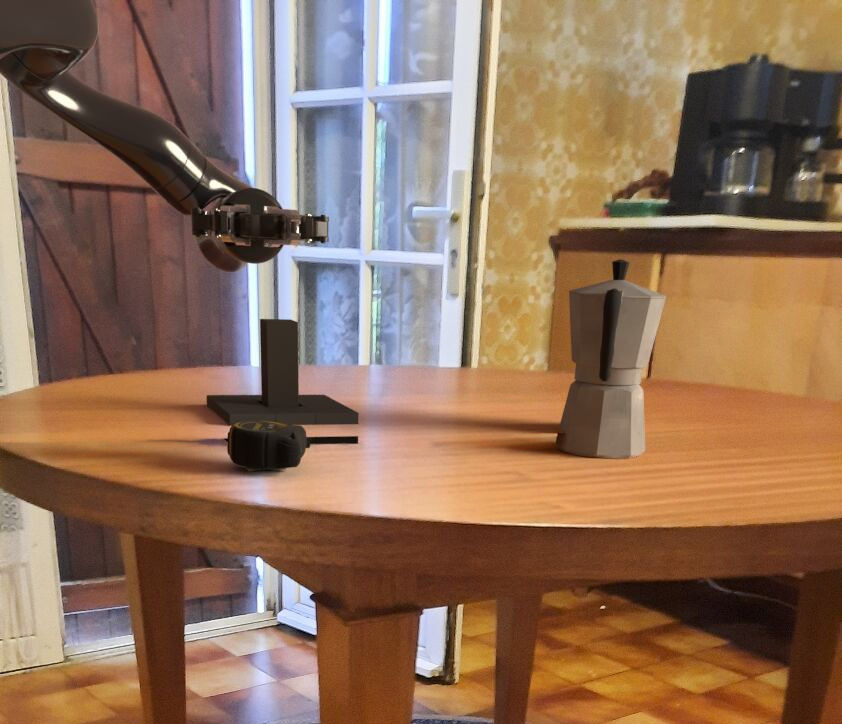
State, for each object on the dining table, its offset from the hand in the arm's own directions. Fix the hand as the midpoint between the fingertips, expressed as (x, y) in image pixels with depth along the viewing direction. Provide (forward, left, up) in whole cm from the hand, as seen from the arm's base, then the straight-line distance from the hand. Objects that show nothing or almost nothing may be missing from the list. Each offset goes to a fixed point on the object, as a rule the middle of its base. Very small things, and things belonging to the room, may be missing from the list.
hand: (267, 225), depth 107 cm
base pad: (0, -5, -20) cm, 20 cm away
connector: (0, -4, -20) cm, 20 cm away
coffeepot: (+30, -19, -20) cm, 40 cm away
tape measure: (-5, -23, -20) cm, 30 cm away
